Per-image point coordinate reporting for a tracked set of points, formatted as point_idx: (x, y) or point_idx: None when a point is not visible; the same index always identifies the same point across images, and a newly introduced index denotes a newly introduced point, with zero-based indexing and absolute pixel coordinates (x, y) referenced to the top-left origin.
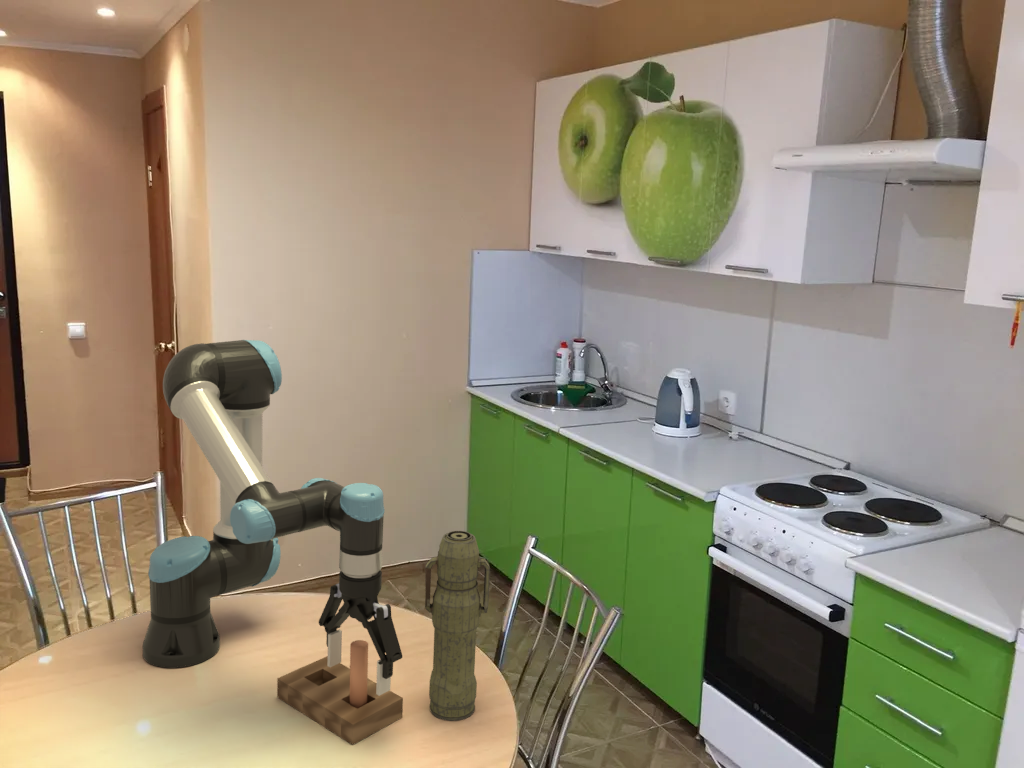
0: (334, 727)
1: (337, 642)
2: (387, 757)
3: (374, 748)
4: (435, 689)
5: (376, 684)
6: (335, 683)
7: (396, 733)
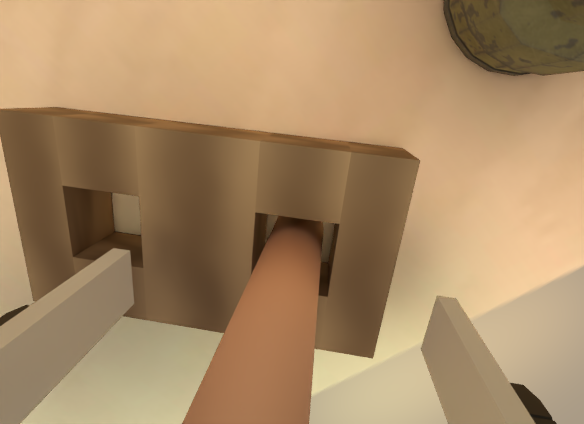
0: None
1: (48, 345)
2: (474, 309)
3: (422, 299)
4: (572, 66)
5: (434, 385)
6: (166, 228)
7: (435, 221)
